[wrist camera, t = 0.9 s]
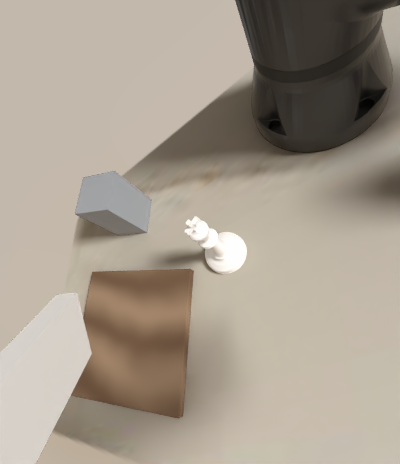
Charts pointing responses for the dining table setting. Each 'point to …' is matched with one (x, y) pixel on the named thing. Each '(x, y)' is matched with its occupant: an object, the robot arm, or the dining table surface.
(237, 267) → the chess piece
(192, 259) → the dining table surface
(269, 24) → the robot arm
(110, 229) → the slate block
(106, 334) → the walnut pad
